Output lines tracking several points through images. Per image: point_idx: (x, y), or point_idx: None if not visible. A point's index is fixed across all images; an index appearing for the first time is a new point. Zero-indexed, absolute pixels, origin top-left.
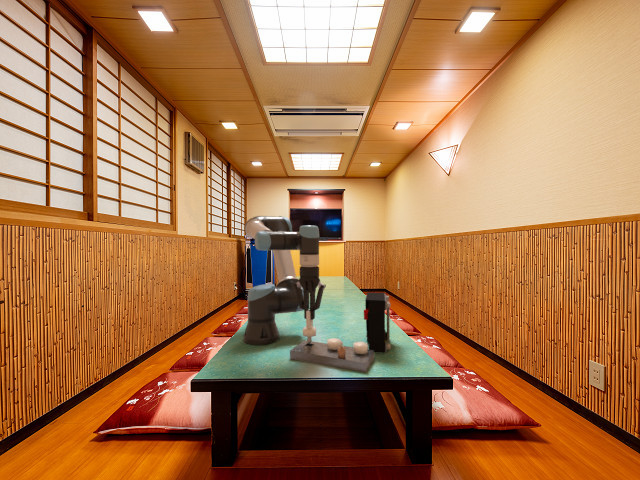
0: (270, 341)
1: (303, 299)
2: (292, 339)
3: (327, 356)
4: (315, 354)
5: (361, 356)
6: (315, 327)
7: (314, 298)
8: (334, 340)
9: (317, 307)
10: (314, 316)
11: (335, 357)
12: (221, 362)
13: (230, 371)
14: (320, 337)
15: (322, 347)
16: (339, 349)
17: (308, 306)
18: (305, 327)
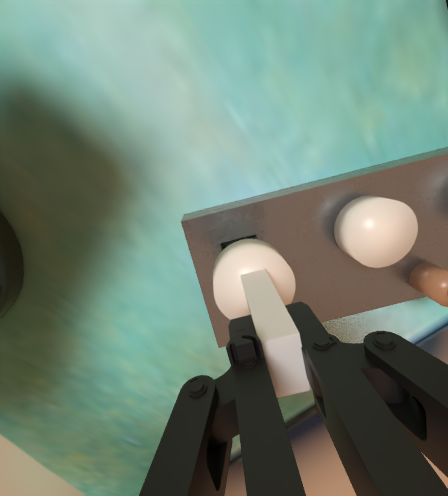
0: (17, 274)
1: (195, 471)
2: (46, 159)
3: (375, 307)
4: (326, 319)
5: None
6: (277, 255)
7: (423, 478)
8: (386, 234)
9: (417, 401)
10: (313, 317)
11: (406, 296)
12: (68, 461)
13: (146, 472)
14: (138, 23)
15: (310, 245)
16: (446, 304)
17: (268, 382)
18: (224, 293)
